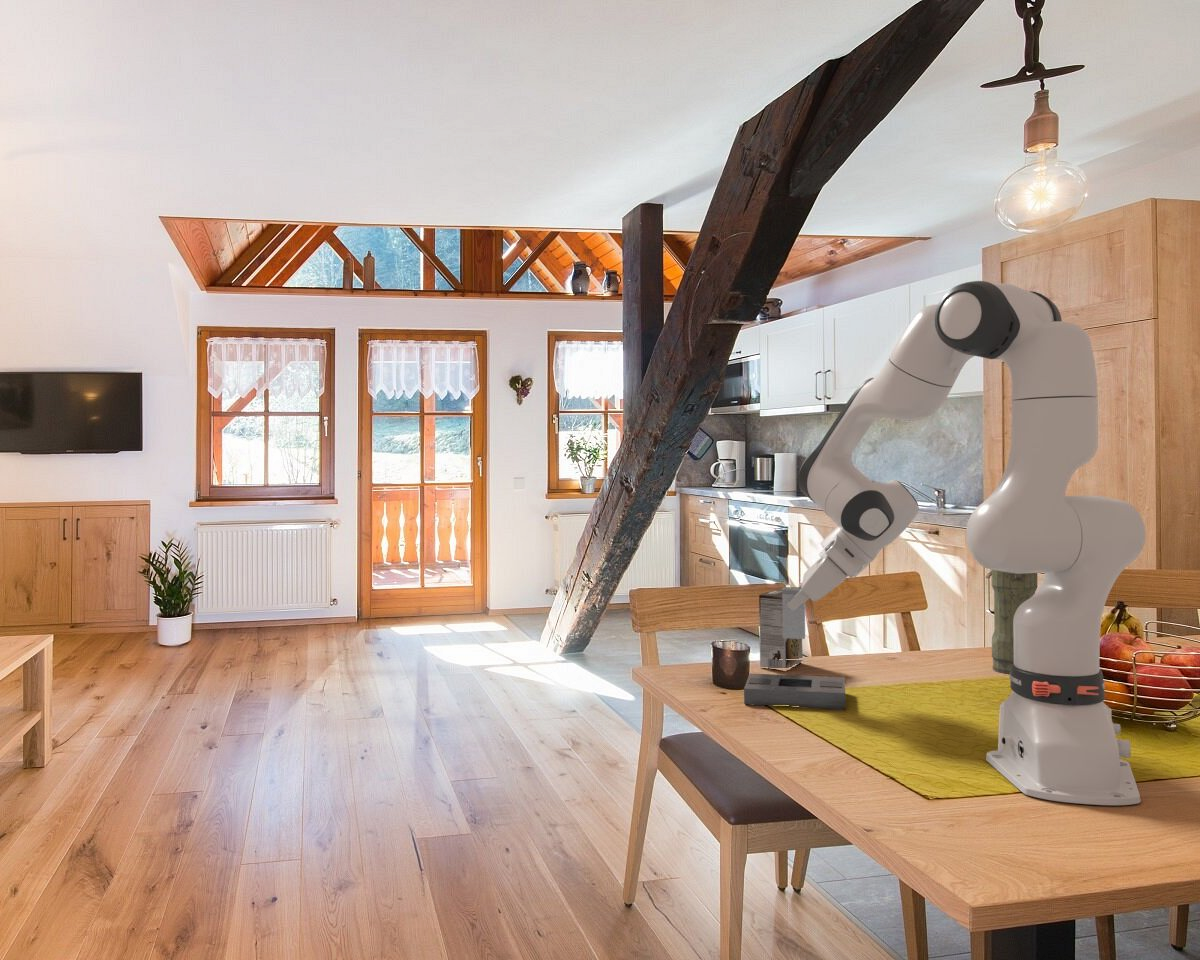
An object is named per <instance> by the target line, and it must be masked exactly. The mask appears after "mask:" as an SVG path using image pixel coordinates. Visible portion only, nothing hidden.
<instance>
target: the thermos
mask: <svg viewBox="0 0 1200 960" xmlns="http://www.w3.org/2000/svg"><path fill="white" fill-rule="evenodd" d="M990 570H991V587H992V589H993V602H994V603H993V608H994V609H993V610H994V611H993V612H994V613H993V614H994V615H993V616H994V617H993V618H994V620H993V621H994V622H993V624H994V626H993V627H994V631H993V633H992V636H991V657H992V670H993V669H994V670H993V671H995V672H997V673H1002V674H1006V675H1007V674H1008V675H1010V672H1011V665H1012V664H1013V663H1014V632H1013V619H1014V615H1015V612H1016V610H1017V608H1018V607H1019V606H1020V605H1021V604H1022V603H1023V602H1025V601H1026V600H1028V599H1029V598H1031V597H1032V596H1033V595H1034V594H1035V593H1036V591H1037V590H1038V573H1024V574H1015V573H1008V572H1002V571H997V570H992V569H990Z"/></svg>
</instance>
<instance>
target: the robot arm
mask: <svg viewBox="0 0 1200 960" xmlns="http://www.w3.org/2000/svg"><path fill="white" fill-rule="evenodd" d="M1060 312H1061V311H1060V310H1059V308H1058V307H1057V305H1056V303H1054V302H1053V301H1052V300H1051V299H1050V298H1048V297H1047V296H1045V295H1043V294H1042V293H1040V292H1038V291H1033V290H1027V289H1023V288H1020V287H1018V286H1016V285H1013V284H1010V283H1003V282H989V281H985V280H973V281H967V282H963V283H961V284H958V285H955V286H953V287H952V288H951V289H949V290H948V291H946V293H945V294H944V295H943V296H942V297H941V299H940V300H939V302H938V304H930V305H927V306H925V307H923V308H921V309H920V310H919V311H918V312H917V313H916V315H915V316H914V317H913V318H912V320H911V321H910V322H909V324H908V326H907V327H906V329H905V330H904V331H903V332H902V334H901V335H900V336H899V337H900V338H899V340H898V341H897V343H896V344H895V346H894V348H893V350H892V352H891V353H890V355H889V358H888V359H887V361H886V363H885V364H884V366H883V367H882V369H881V370H880V371H879V373H878V374H877V375H876V376H875V377H870V378H868V379H866V380H864V381H863V382H862V383H861V384H860V385H859V386H858V387H857V388H856V389H855V391H854V392H853V393H852V395H851V396H850V397H849V398H848V400H847V402H846V403H845V405H844V406H843V408H842V409H841V411H840V413H839V414H838V416H836V419H835V420H834V421H833V423H832V424H831V426H830V428H828V430H827V432H826V434H825V435H824V436H823V438H822V440H821V441H820V443H819V444H818V445H817V446H816V447H815V448H814V450H813V451H812V452H811V453H810V454H809V455H808V456H807V457H806V458H805V460H804V461H803V462H802V463H801V466H800V468H799V472H798V478H797V483H798V487H799V488H798V489H799V490H800V491H801V493H802V494H804V495H805V497H807V498H808V499H809V500H811V501H812V502H813V503H815V504H816V505H817V506H818V508H820V509H821V510H822V511H823V512H824V513H825V514H826V515H827V517H829V518H830V519H831V520H832V521H833V522H834V523H835V524H836V525H837V527H835V528H834V529H833V530H832V531H831V532H830V533H829V534H828V535H827V536H826V537H824V539H823V540H822V541H821V542H820V545H821V547H822V548H823V549H822V550H821V552H819V554H818V556H819V559H818V560H817V561H815V562H814V563H812V565H811V566H810V567H809V568H808V569H807V570H806V571H805V572H804V573H803V577H802V582H801V584H800V585H799V587H801V590H800V591H799V592H798V593H797V594H796V595H795V596H794V597H793V598H792V599H791V600H790V601H789V602H788V604H787V605H788V607H789V608H790V609H791V610H793V611H794V610H796V609H797V608H798V607H799V606H800V605H801V604H803V603H804V602H805V603H806V602H807V601H808V600H811V601H813V602H817V601H819V600H821V599H823V598H824V597H825V596H827V595H828V594H829V593H830V592H832V591H833V590H834V589H835V588H836V587H838V586H839V585H840V584H841V583H843V582H844V581H845V580H846V579H847V578H851V579H852V578H853V577H854V578H856V577H857V576H858V575H859V574H860V573H861V572H863V571H864V570H865V569H866V568H867V567H868V566H869V565H870V564H871V563H872V562H873V561H874V560H875V559H876V558H877V556H878V554H879V553H880V551H881V550H883V549H884V548H885V547H887V546H889V545H890V544H892V543H893V542H894V541H896V539H897V538H898V537H900V535H902V533H903V532H904V531H905V530H906V529H907V528H908V527H909V525H911V523H913V521H914V519H915V518H916V516H917V515H918V513H919V510H920V509H919V504H918V501H917V499H916V498H915V496H914V495H913V494H912V493H911V491H910V490H909V489H908V488H907V487H906V486H905V485H904V484H902V483H901V482H900V481H899V480H896V479H890V480H888V481H887V482H880V481H875V480H874V479H869V477H867V476H865V475H864V474H863V472H862V471H860V470H859V469H858V468H857V467H856V466H855V465H854V463H853V459H852V454H853V452H854V451H855V449H856V448H857V447H858V445H859V443H860V442H861V441H862V440H863V438H864V436H865V435H866V433H867V432H868V431H869V429H870V428H871V426H872V425H873V424H874V422H876V421H878V419H879V420H880V419H881V418H886V419H890V420H891V419H892V420H897V421H902V422H903V421H904V422H914V421H920V420H924V419H927V418H929V417H930V416H932V415H935V413H936V412H937V411H938V410H939V409H940V408H941V407H942V406H943V404H944V403H945V402H946V399H947V398H948V397H949V396H948V395H949V394H950V392H951V390H952V388H953V387H954V385H955V383H956V381H957V378H958V376H959V375H960V373H961V371H962V369H963V368H964V367H965V365H966V363H967V362H968V361H969V360H970V359H972V358H974V357H979V358H984V359H987V360H988V359H989V360H1001V361H1003V362H1004V363H1005V365H1006V366H1007V368H1008V369H1009V371H1010V376H1011V377H1010V378H1011V429H1010V447H1009V449H1010V450H1009V453H1008V459H1007V462H1006V466H1005V469H1004V471H1003V474H1002V476H1001V478H1000V479H999V482H998V484H997V485H996V487H995V489H994V490H993V491H992V492H991V494H990V495H989V496H988V497H987V498H986V499H985V500H984V501H983V502H982V503H981V504H979V505H978V506H977V507H976V508H974V510H973V512H972V513H971V514H970V517H969V519H968V521H967V524H966V529H965V539H966V544H967V548H968V550H969V553H970V554H971V556H972V557H973V559H974V560H975V561H976V562H977V564H978V565H980V566H981V567H982V568H984V569H988V570H991V569H992V570H997V571H1002V572H1008V573H1015V574H1024V573H1037V574H1043V573H1044V575H1043V578H1042V581H1041V583H1040V585H1039V586H1038V588H1037V589H1036V592H1035V594H1034V595H1033V596H1032V597H1031V598H1029V599H1028V600H1026V601H1025V602H1023V603H1022V604H1021V605H1020V606H1019V607H1018V608H1017V610H1016V612H1015V615H1014V619H1013V632H1014V663H1013V664H1012V665H1011V672H1010V674H1009V679H1010V689H1011V690H1012V691H1011V693H1010V695H1008V696H1007V698H1006V699H1005V700H1004V701H1002V702H1001V703H1000V704H999V712H998V713H999V717H998V738H997V739H998V740H997V741H998V744H997V749H996V750H990V751H988V752H986V756H985V757H986V758H985V761H986V762H988V763H989V765H991V766H992V767H993V768H994V769H995V770H997V771H998V772H999V773H1000V774H1001V775H1002V776H1003V777H1005V779H1007V780H1008V781H1009V782H1010V783H1011V784H1012V785H1013V786H1015V788H1017V789H1018V791H1020V792H1022V793H1023V794H1024V795H1026V796H1029V797H1034V798H1038V799H1042V800H1048V801H1054V802H1060V803H1061V802H1062V803H1070V804H1081V805H1096V806H1130V805H1136V804H1137V805H1138V804H1141V795H1140V791H1139V789H1138V788H1139V787H1138V786H1137V782H1136V779H1135V777H1134V774H1133V770H1132V768H1131V765H1130V763H1129V761H1127V760H1125V759H1121V758H1128V759H1129V758H1131V757H1132V756H1131V754H1132V747H1131V740H1128V739H1120V738H1117V735H1121V731H1122V730H1121V729H1122V727H1121V724H1120V723H1114V722H1113V719H1112V709H1111V708H1110V707H1109V706H1108V705H1106V704H1105V700H1106V692H1105V689H1106V686H1105V685H1106V683H1105V680H1104V675H1103V671H1102V670H1101V669H1100V650H1101V649H1100V648H1101V647H1100V644H1101V625H1102V618H1103V612H1104V608H1105V606H1106V602H1107V599H1108V597H1109V594H1110V593H1111V590H1112V588H1113V586H1114V585H1115V582H1116V580H1118V578H1119V576H1120V575H1121V574H1122V572H1123V571H1124V570H1125V569H1126V568H1127V567H1128V566H1129V565H1130V564H1131V563H1133V562H1134V561H1135V560H1136V559H1137V558H1138V557H1139V556H1140V554H1141V553H1142V551H1143V549H1144V545H1145V542H1146V539H1147V538H1146V535H1147V533H1146V526H1145V521H1144V519H1143V518H1142V515H1141V514H1140V512H1139V511H1138V509H1137V508H1136V507H1134V506H1133V504H1131V503H1130V502H1127V501H1125V500H1122V499H1117V498H1112V497H1107V496H1102V495H1095V494H1092V495H1091V494H1089V495H1088V494H1087V495H1084V494H1083V495H1066V493H1067V488H1068V485H1069V482H1070V481H1071V478H1072V477H1073V475H1074V474H1075V473H1076V471H1077V470H1078V469H1079V468H1080V467H1083V466H1084V465H1086V464H1087V463H1089V462H1090V461H1092V459H1093V458H1094V457H1095V455H1096V454H1097V451H1098V448H1099V408H1098V402H1099V400H1098V399H1099V397H1098V396H1099V395H1098V379H1097V377H1098V376H1097V367H1096V362H1095V356H1094V351H1093V347H1092V344H1091V343H1092V342H1091V339H1090V336H1089V334H1088V333H1087V331H1086V330H1085V329H1084V328H1083V327H1081V326H1079V325H1077V324H1075V323H1071V322H1067V321H1062V315H1061V313H1060Z"/></svg>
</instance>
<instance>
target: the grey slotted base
mask: <svg viewBox="0 0 1200 960" xmlns="http://www.w3.org/2000/svg"><path fill="white" fill-rule="evenodd" d="M845 679H846V678H845V677H844V676H843V677H840V676H838V677H837V676H819V675H818V676H817V675H797V674H796V675H793V674H792V675H791V674H771V673H749V675H748V677H747V680H746V682H745V685H744V687H743V704H754V705H753V706H759V705H789V706H799V707H808V708H807V709H817V708H822V710H836V709H837V711H838V710H839V711H841V710H843V711H846V709H847V708H846V706H847V705H846V682H845V681H846V680H845Z"/></svg>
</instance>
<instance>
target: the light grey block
mask: <svg viewBox="0 0 1200 960" xmlns="http://www.w3.org/2000/svg"><path fill="white" fill-rule="evenodd" d="M781 590H782V607H783V638H793V639H802V640H805V639H806V602H804V603H803V604H801V605H800V606H799V607H798V608H797V609H796V610H794V611H793V610H791V609H790V608H789V607H788V605H787V604H788V602H789V601H790V600H791V599H792V598H793V597H794V596H795V595H796V594H797V593H798V592H799V591H800V590H801V587H798V586H782V589H781Z"/></svg>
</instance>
